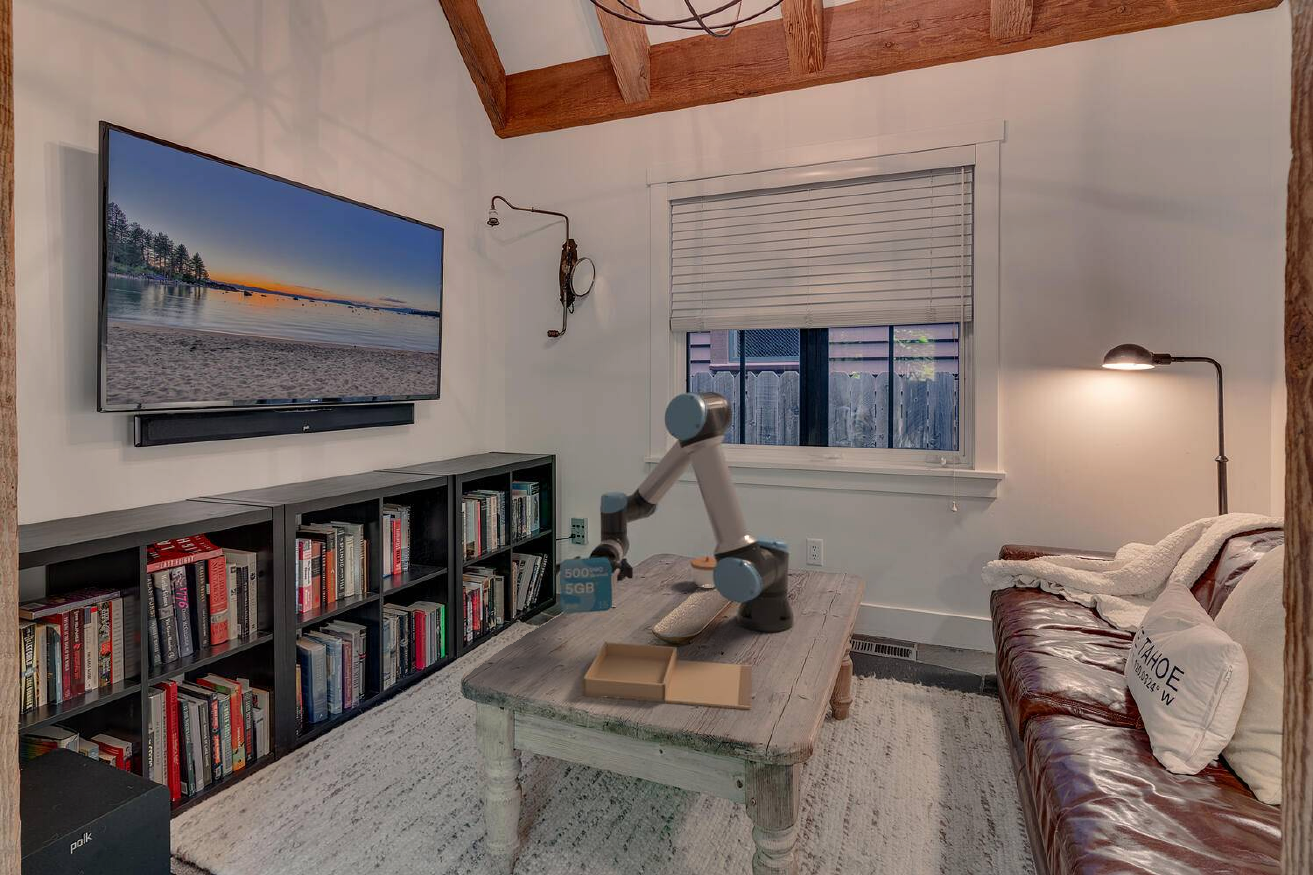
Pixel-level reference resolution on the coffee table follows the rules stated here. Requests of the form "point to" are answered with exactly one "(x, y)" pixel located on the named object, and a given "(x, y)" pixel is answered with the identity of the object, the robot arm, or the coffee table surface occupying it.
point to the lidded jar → (703, 570)
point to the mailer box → (666, 677)
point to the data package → (586, 585)
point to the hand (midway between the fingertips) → (585, 580)
